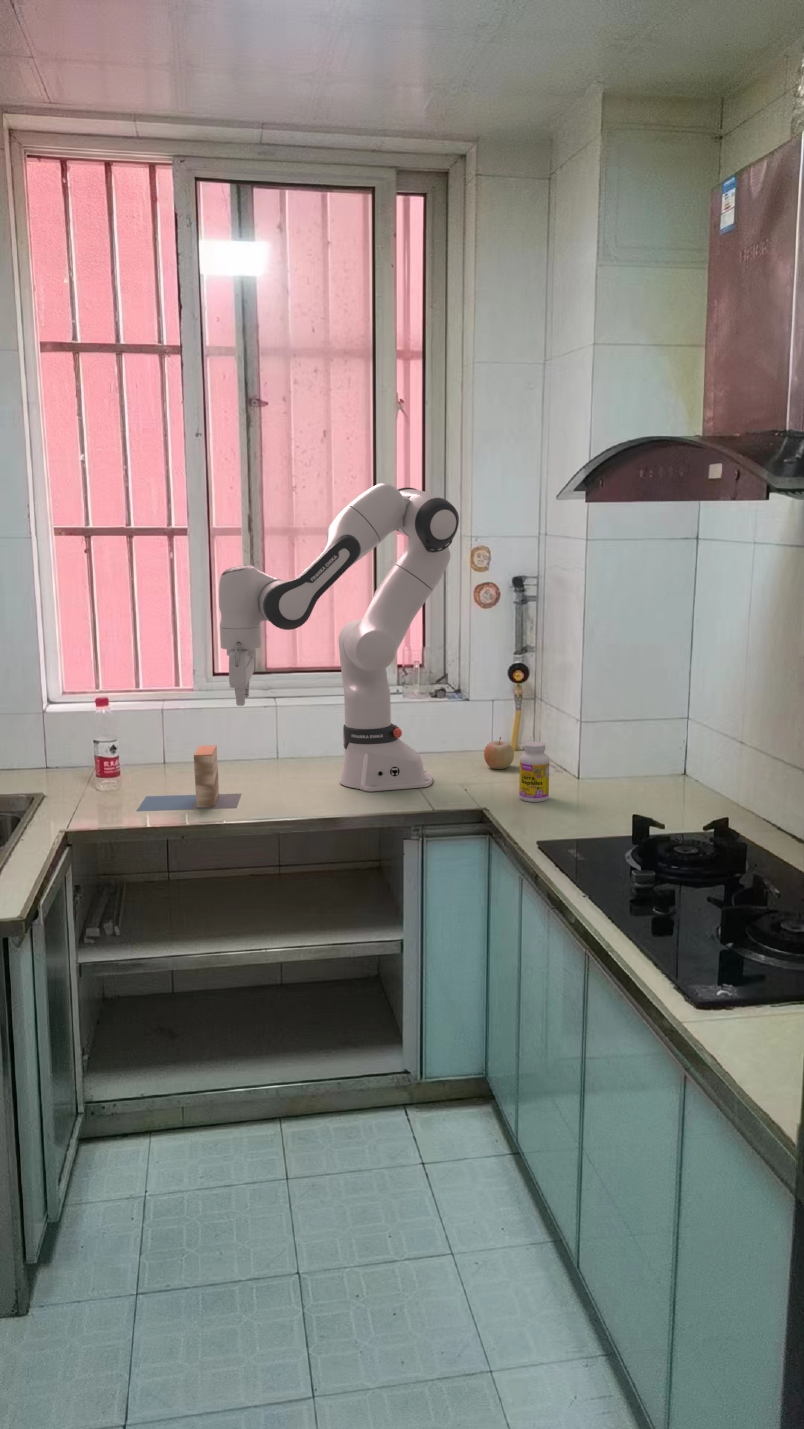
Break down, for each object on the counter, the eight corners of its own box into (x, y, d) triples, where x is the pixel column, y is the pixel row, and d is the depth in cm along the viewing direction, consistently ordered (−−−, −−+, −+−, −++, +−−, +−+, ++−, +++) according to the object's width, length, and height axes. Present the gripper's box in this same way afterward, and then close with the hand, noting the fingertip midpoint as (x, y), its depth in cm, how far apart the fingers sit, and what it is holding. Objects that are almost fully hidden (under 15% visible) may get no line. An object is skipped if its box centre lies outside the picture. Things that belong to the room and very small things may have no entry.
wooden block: (219, 795, 247) (216, 745, 244) (214, 806, 238) (211, 754, 236) (201, 796, 247) (199, 745, 244) (196, 807, 238) (193, 755, 235)
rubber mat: (241, 795, 249) (241, 793, 248) (236, 810, 237) (236, 808, 237) (146, 798, 247) (146, 796, 247) (136, 813, 236) (136, 810, 236)
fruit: (497, 763, 276) (497, 732, 274) (519, 767, 270) (519, 737, 269) (477, 768, 271) (477, 737, 269) (498, 773, 265) (498, 742, 264)
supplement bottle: (515, 801, 240) (516, 745, 238) (523, 793, 246) (524, 739, 244) (544, 804, 238) (545, 748, 235) (551, 796, 244) (552, 741, 241)
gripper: (250, 645, 226) (253, 709, 228) (258, 634, 246) (260, 693, 248) (220, 646, 225) (223, 710, 228) (231, 634, 245) (233, 693, 248)
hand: (242, 701), depth 238 cm, fingers open, 8 cm apart
